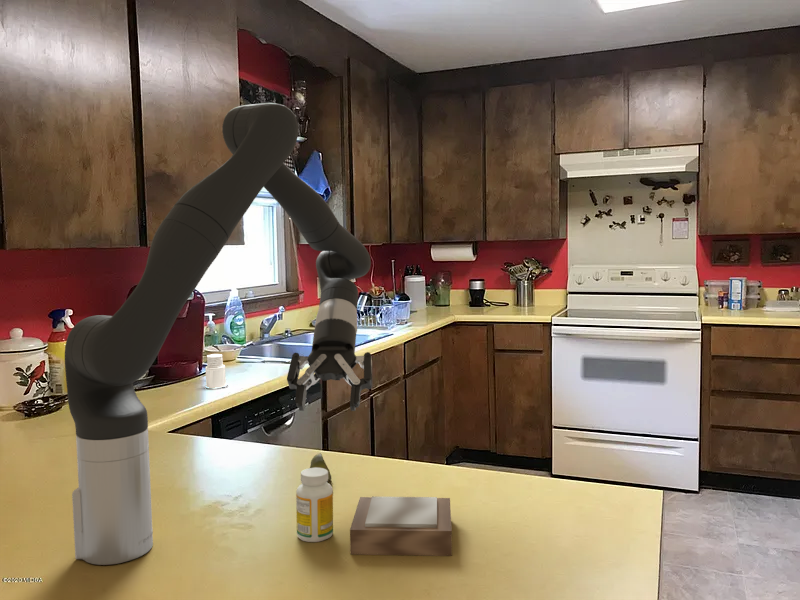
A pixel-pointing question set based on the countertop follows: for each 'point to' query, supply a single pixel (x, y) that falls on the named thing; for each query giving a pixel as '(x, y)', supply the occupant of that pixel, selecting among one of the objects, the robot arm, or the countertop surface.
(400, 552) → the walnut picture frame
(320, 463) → the lime
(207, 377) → the white pipe fitting
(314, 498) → the supplement bottle
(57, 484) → the countertop surface
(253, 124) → the robot arm
